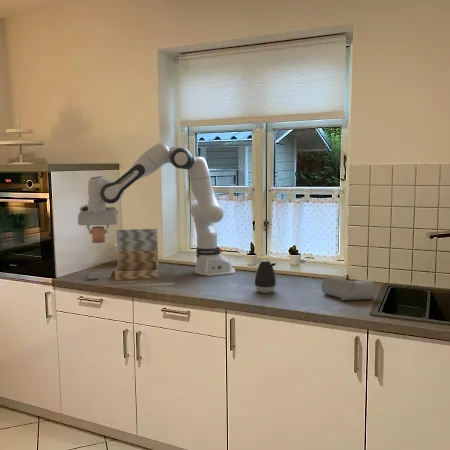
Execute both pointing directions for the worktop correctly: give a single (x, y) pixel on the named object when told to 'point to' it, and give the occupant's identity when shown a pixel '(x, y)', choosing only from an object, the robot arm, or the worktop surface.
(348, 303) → the worktop surface
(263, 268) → the pump dispenser
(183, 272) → the worktop surface
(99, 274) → the slate tile
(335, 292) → the bent grey cylinder
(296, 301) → the worktop surface
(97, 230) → the terracotta pot
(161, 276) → the worktop surface
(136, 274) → the brown patterned open box
